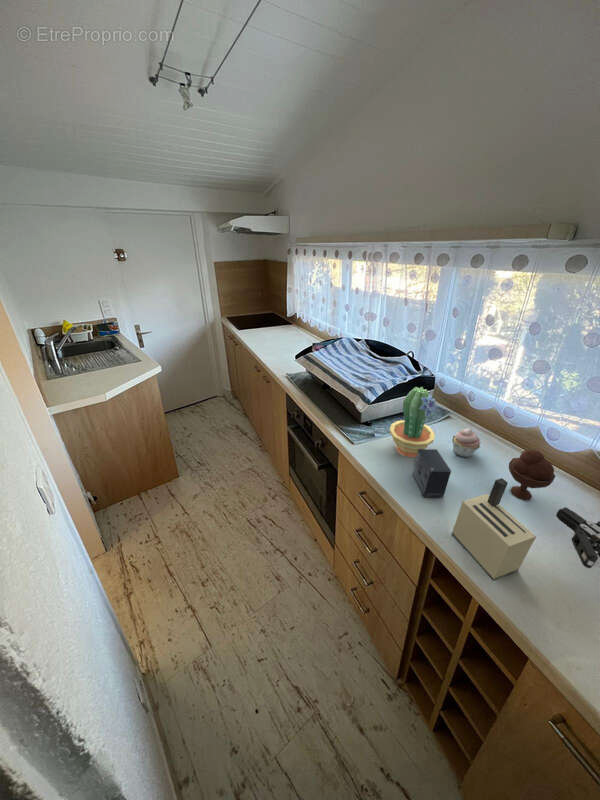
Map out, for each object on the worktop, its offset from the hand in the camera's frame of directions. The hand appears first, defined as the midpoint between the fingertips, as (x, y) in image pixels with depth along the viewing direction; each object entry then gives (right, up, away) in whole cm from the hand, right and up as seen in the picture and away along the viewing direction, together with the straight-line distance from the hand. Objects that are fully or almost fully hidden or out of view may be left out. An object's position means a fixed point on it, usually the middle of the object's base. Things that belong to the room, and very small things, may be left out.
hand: (560, 511), depth 59 cm
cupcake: (+9, +3, +51) cm, 52 cm away
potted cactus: (-10, +3, +53) cm, 54 cm away
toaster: (-5, -16, +17) cm, 24 cm away
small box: (-10, -6, +37) cm, 39 cm away
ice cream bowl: (+17, -7, +33) cm, 38 cm away
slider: (-4, -3, +14) cm, 15 cm away
